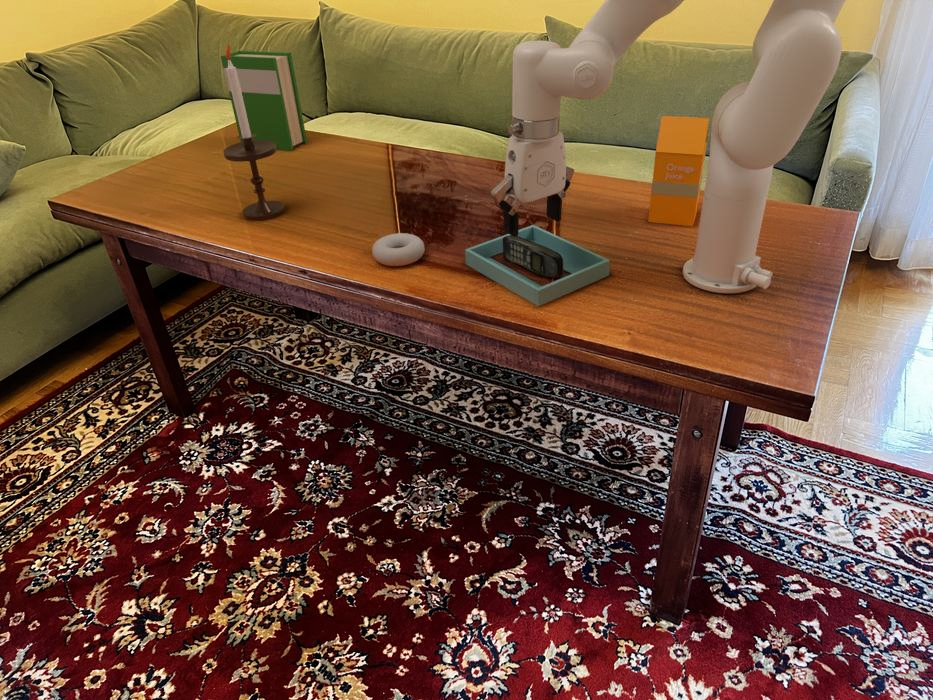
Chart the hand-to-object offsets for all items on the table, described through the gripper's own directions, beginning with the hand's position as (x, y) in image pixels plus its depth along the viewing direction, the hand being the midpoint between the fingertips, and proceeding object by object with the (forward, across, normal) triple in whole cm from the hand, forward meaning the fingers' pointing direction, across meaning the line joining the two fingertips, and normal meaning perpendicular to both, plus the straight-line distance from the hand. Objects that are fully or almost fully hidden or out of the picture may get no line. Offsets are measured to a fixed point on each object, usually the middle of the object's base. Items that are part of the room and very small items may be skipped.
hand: (532, 226), depth 117 cm
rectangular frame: (+8, 0, 0) cm, 8 cm away
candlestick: (+10, -26, +60) cm, 67 cm away
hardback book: (+10, -4, +107) cm, 108 cm away
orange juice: (+8, +36, -2) cm, 37 cm away
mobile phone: (+9, 0, 0) cm, 9 cm away
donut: (+9, -16, +20) cm, 27 cm away
